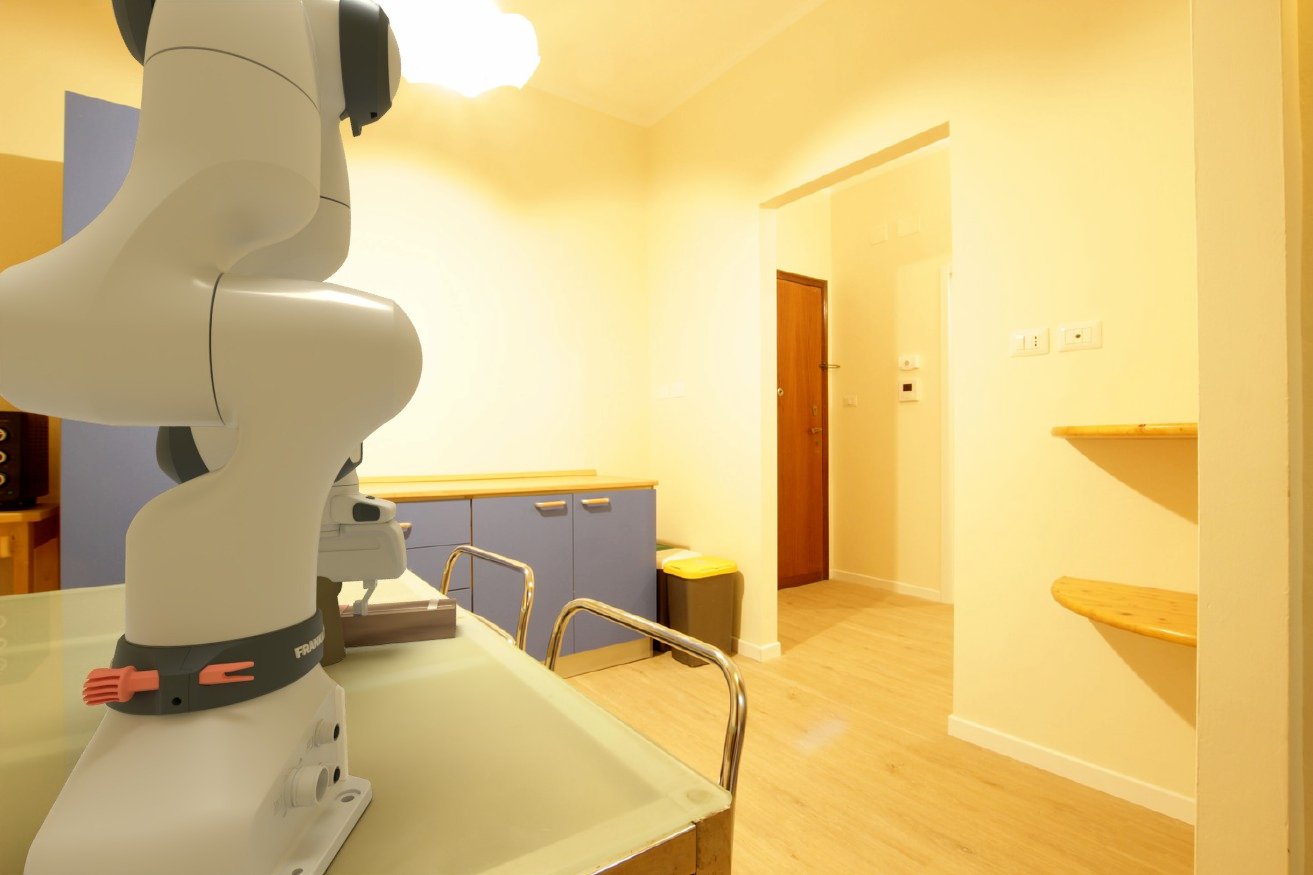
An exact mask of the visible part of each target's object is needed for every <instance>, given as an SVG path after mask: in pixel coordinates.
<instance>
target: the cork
mask: <svg viewBox="0 0 1313 875" xmlns="http://www.w3.org/2000/svg"><path fill="white" fill-rule="evenodd" d="M342 588H343V582H332V581H331V580H330V579H329V578H327V577H322V576H317V582H316V607H317V608H319V609H320V610H321V611H322V619H323V625H324V630H325V637H324V640H323V657H322V659H321V660H320V664H321V666H322V667H326V666H330V665H334V664H336V663H339V662H341V661H343V660H344V659H345V658H346V656H347V653H346V647H345V645H344V638H343V631H342V624H341V617H340V610H339V605H340V603H339V595H340V593H341V592H342Z"/></svg>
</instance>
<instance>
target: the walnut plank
mask: <svg viewBox="0 0 1313 875" xmlns="http://www.w3.org/2000/svg"><path fill="white" fill-rule="evenodd" d="M339 610H340V617H341V624H342V631H343V638H344V645H345V648H348V647H349V648H351V647H361V646H373V645H383V644H384V645H385V644H395V643H406V642H407V643H408V642H417V641H418V642H419V641H429V640H430V641H431V640H441V639H450V638H452V639H453V638H456V632H457V631H456V630H457V597H455V598H441V599H440V598H439V597H437V598H435V597H434V598H430V599H429V600H428V599H426V600H412V601H411V600H410V601H398V602H383V603H371V604H369V603H368V614H367V615H366V616H356V617H354V616H353V612H354V609H353V605H350V604H339Z"/></svg>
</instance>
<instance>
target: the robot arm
mask: <svg viewBox="0 0 1313 875" xmlns="http://www.w3.org/2000/svg"><path fill="white" fill-rule="evenodd" d="M110 3H111V7H112V13H113V17H114V20H115V22H116V25H117V27H118V30H119V33H120V35H121V38H122V40H123V42H124V44H125V46H126V48H127V50H128V52H129V53H130V55H131V56H132V58H133V59H134V60H135V61H137V62H138V63H139V64H140V65H141V66H142V67H143V72H142V74H143V75H142V89H141V101H140V111H139V117H138V118H139V119H138V127H137V133H136V139H135V146H134V151H133V155H132V160H131V164H130V166H129V170H128V173H127V175H126V177H125V179H124V180H123V183H122V185H121V186H120V188H119V189H118V190H117V193H116V194H115V195H114V196H113V198H112V200H111V201H110V202H109V203H108V204H107V205H106V207H105V208H104V209H103V210H102V211H101V212H100V213H99V214H98V215H97V216H96V217H95V218H94V219H93V220H92V221H91V222H89V224H88V225H87V226H85V227H84V228H83V229H82V230H80V231H79V232H78V233H77V234H75V235H73V236H72V237H71V238H69V239H68V240H67V241H65V242H63V243H61V244H59V245H58V246H57V247H54V248H53V249H50V250H48V251H47V252H45V253H42V254H39V255H37V256H34V257H33V258H31V259H28V260H26V261H23V262H20V263H17V264H14V265H11V266H9V267H8V268H7V267H6V269H4V270H3V271H1V272H0V397H1V398H3V400H5V401H6V402H7V403H9V405H11V406H13V407H15V408H16V409H18V410H20V411H23V412H27V413H31V414H37V415H41V416H42V415H43V416H47V417H54V418H59V419H64V420H70V421H71V420H72V421H78V422H84V423H90V424H91V423H92V424H98V425H106V426H110V427H111V426H112V427H158V431H157V436H156V445H155V456H156V462H157V465H158V467H159V469H160V470H161V472H163V473H164V474H165V475H166V476H167V477H169V479H171V480H172V481H174V483H176V484H177V485H176V486H174V487H172V488H170V489H168V490H166V491H164V492H163V493H160V494H158V495H157V496H155V497H153V498H152V499H151V500H149V501H148V502H146V503H145V504H144V505H143V506H142V507H141V509H139V511H138V512H137V513H136V514H135V516H134V517H133V519H132V521H131V522H130V524H129V527H128V528H127V530H126V531H127V532H126V534H125V561H124V562H125V565H124V566H125V567H124V568H125V571H124V575H125V576H124V577H125V578H124V580H125V581H124V583H125V584H124V633H123V634H122V635H121V636H120V637H119V638H118V639H117V642H116V645H115V649H114V650H115V651H114V654H113V658H112V659H111V661H110V663H109V666H108V667H103V668H102V667H100V668H95V669H92V670H91V671H90V672H89V673H88V675H87V677H86V678H85V679H86V681H85V682H83V683H84V684H83V686H82V689H83V690H82V694H81V695H82V696H83V698H82V701H83V702H84V703H85V702H86V703H85V705H87V706H88V707H89V706H91V707H92V706H99V705H104V704H105V705H106V706H107V707H108V708H107V709H106V712H105V714H104V717H103V718H102V720H101V721H100V724H99V725H98V727H97V729H96V730H95V732H94V734H93V736H92V737H91V739H90V740H89V741H88V743H87V744H86V747H85V748H84V750H83V752H82V753H81V755H80V757H79V758H78V760H77V762H76V764H75V766H74V767H73V769H72V771H71V773H70V775H69V776H68V778H67V780H66V782H65V784H64V785H63V787H62V789H61V790H60V791H59V794H58V796H57V797H56V799H55V801H54V803H53V804H52V806H51V808H50V809H49V812H48V814H47V815H46V817H45V819H44V820H43V822H42V824H41V826H40V828H39V830H38V831H37V833H36V835H35V837H34V839H33V841H32V843H31V844H30V847H29V849H28V852H27V855H26V859H25V864H24V868H23V874H22V875H324V873H325V872H326V870H327V868H328V867H329V866H330V864H331V862H332V861H333V860H334V858H335V857H336V855H337V853H338V852H339V850H340V849H341V847H342V846H343V844H344V843H345V841H346V839H347V838H348V837H349V835H350V833H351V831H352V830H353V829H354V827H355V826H356V824H357V822H358V821H359V819H360V817H361V816H362V815H363V813H364V811H365V810H366V809H367V807H368V806H369V804H370V802H371V800H372V798H373V788H372V784H371V782H370V780H368V779H367V778H363V777H359V776H355V775H351V774H349V757H348V756H349V755H348V753H349V752H348V733H347V732H348V731H347V730H348V729H347V716H346V715H347V712H346V693H345V689H344V687H343V686H341V685H340V684H339V683H338V682H336V681H335V680H334V679H332V678H331V677H330V676H329V675H328V673H327V672H326V671H325V670H324V668H323V666H321V664H320V660H321V659H322V657H323V640H324V637H325V630H324V625H323V619H322V611H321V610H320V609H319V608H317V607H316V582H317V576H322V577H327V578H329V579H330V580H331V581H332V582H342V583H347V582H348V583H350V582H361V581H362V589H363V590H367V591H365V594H364V596H363V597H362V599H356V600H354V602H353V604H352V606H353V609H354V612H353V616H354V617H356V616H366V615H367V614H368V604H369V600H370V598H371V597H372V595H373V594H374V591H375V590H376V588H377V587H378V581H381V580H397V579H400V578H401V576H402V575H403V574H404V573H405V572H406V570H407V567H408V566H407V565H408V563H407V562H408V557H407V547H406V540H405V535H404V531H403V528H402V525H400V523H399V522H398V521H397V520H395V519H394V518H395V517H396V515H397V505H396V503H395V502H394V501H391V500H388V499H385V498H384V499H383V498H380V497H377V496H373V495H368V494H364V493H362V492H360V480H359V476H358V474H357V473H358V472H357V469H356V468H358V466H360V465H361V464H362V462H363V457H364V455H363V454H364V450H363V448H364V441H365V440H366V439H368V437H369V436H371V435H372V434H373V433H374V432H376V430H378V429H379V428H381V427H382V426H384V425H385V424H387V423H388V422H389V421H391V420H393V419H394V418H395V417H396V416H398V415H399V414H400V413H401V412H402V411H403V410H404V409H405V408H406V407H407V406H408V404H409V403H410V402H411V401H412V398H413V396H414V395H415V393H416V392H417V389H418V387H419V384H420V381H421V378H422V373H423V365H424V364H423V357H424V356H423V351H422V350H423V349H422V344H421V341H420V337H419V335H418V332H417V330H416V328H415V326H414V324H413V322H412V320H411V319H410V317H409V316H408V313H406V312H405V311H404V310H403V308H402V307H401V306H400V305H399V304H398V303H397V302H396V301H395V300H393V299H391V298H388V297H384V296H380V295H378V294H374V293H371V292H367V291H363V290H360V289H358V288H357V289H356V288H352V287H348V286H345V285H342V284H336V283H333V282H328V281H327V282H326V280H328V279H329V278H331V277H332V276H333V275H334V274H336V273H337V272H338V271H339V269H341V267H342V266H343V265H344V263H345V262H346V260H347V258H348V256H349V251H350V247H351V246H350V245H351V244H350V243H351V235H352V233H351V232H352V217H351V216H352V214H351V213H352V209H351V208H352V207H351V206H352V205H351V191H350V181H349V180H350V179H349V173H348V172H349V171H348V164H347V159H346V153H345V149H344V144H343V139H342V135H341V130H340V123H341V122H343V121H344V120H346V119H348V118H349V122H350V127H351V134H352V137H353V138H356V137H359V136H361V135H362V129H363V127H365V126H368V125H371V124H373V123H377V122H378V121H380V119H382V118H383V116H385V115H386V114H387V113H388V112H389V111H390V110H391V108H392V106H393V100H394V99H395V96H396V95H397V92H398V90H399V86H400V82H401V76H402V59H401V52H400V48H399V45H398V40H397V38H396V35H395V34H394V33H395V32H394V30H393V29H392V26H391V23H390V18H389V16H388V15H387V14H386V13H385V10H384V9H383V8H382V6H381V5H380V4H378V3H377V2H375V1H374V0H110Z"/></svg>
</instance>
